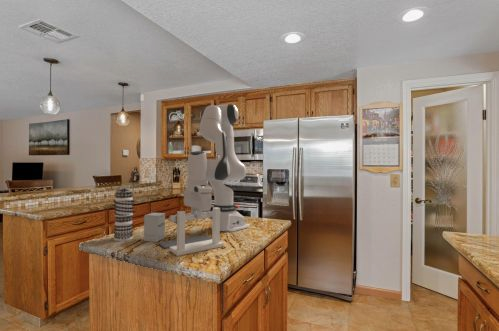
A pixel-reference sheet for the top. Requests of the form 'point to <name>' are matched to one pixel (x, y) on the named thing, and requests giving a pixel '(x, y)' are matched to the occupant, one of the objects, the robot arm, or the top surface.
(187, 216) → the steel bar
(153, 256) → the top surface
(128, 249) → the top surface
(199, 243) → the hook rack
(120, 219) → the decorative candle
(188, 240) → the rubber mat
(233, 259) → the top surface
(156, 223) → the supplement box
